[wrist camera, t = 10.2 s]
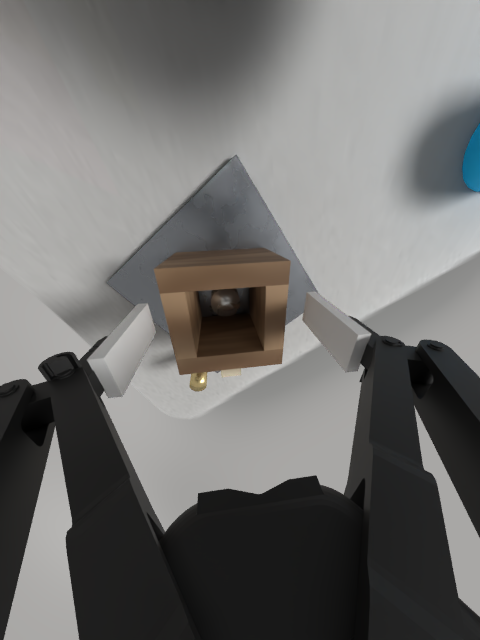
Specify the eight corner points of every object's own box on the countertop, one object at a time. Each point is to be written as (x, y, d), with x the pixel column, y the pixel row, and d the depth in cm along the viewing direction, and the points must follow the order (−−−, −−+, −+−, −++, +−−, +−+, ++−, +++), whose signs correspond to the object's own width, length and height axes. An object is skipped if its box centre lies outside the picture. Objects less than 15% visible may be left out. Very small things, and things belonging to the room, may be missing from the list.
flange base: (109, 280, 21) (86, 293, 17) (235, 157, 17) (241, 138, 13) (217, 369, 28) (217, 392, 25) (319, 297, 25) (338, 310, 21)
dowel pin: (192, 351, 26) (186, 385, 20) (201, 344, 25) (198, 376, 20) (201, 359, 26) (197, 393, 21) (210, 352, 26) (209, 385, 21)
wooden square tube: (175, 252, 20) (153, 268, 12) (264, 247, 20) (290, 260, 13) (195, 359, 26) (188, 409, 19) (261, 352, 27) (278, 398, 20)
